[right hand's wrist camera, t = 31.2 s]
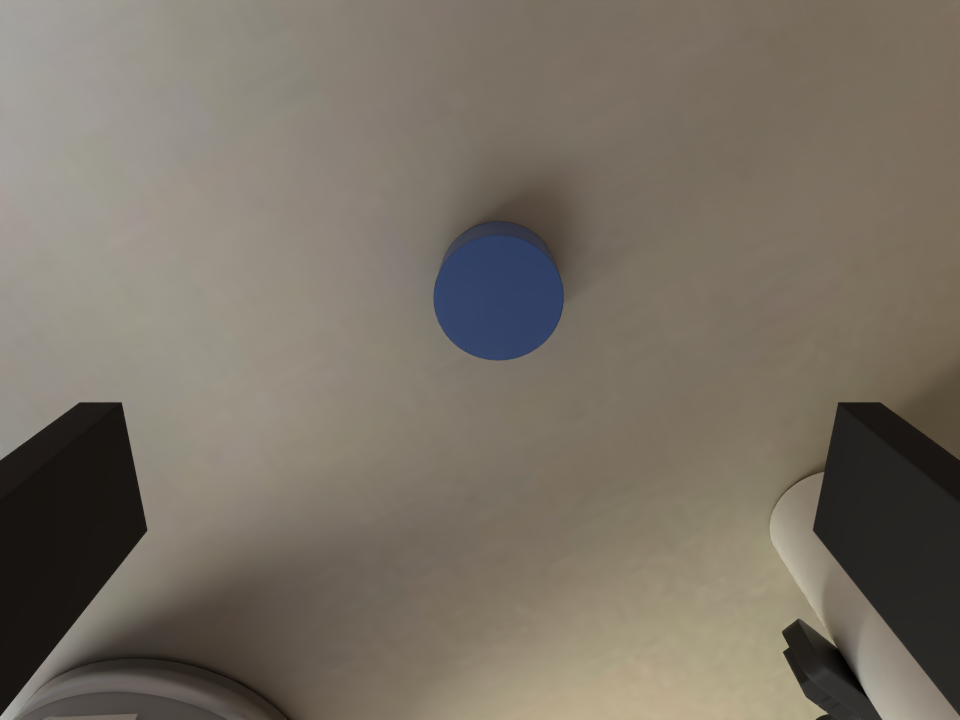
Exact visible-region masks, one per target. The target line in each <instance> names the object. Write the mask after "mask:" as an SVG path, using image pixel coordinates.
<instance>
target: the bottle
mask: <svg viewBox="0 0 960 720" xmlns="http://www.w3.org/2000/svg"><path fill="white" fill-rule="evenodd" d="M823 476H824V472H821V473H817V474H814V475H811V476H809V477H807V478H805V479H803V480H801V481H799V482H798V483H796V484H795V485H793V486H792V487H791V488H790V489H789V490H787V491H786V492H785V493H784V495H783V496H782V497H781V498H780V499H779V501H778V502H777V504H776V506H775V508H774V510H773V512H772V515H771V520H770V536H771V540H772V543H773V545H774V547H775V549H776V550H777V552H778V553H779V555H780V557H781V558H782V560H783V561H784V563H785V565H786V566H787V568H788V569H789V571H790V573H791V574H792V576H793V577H794V579H795V581H796V582H797V584H798V585H799V587H800V589H801V590H802V592H803V593H804V595H805V597H806V598H807V600H808V601H809V603H810V605H811V606H812V608H813V609H814V611H815V613H816V614H817V616H818V617H819V619H820V621H821V622H822V624H823V625H824V627H825V629H826V630H827V632H828V633H829V635H830V637H831V638H832V640H833V641H834V643H835V645H836V646H837V648H838V649H839V651H840V653H841V654H842V656H843V657H844V659H845V661H846V662H847V664H848V665H849V667H850V669H851V670H852V672H853V673H854V675H855V677H856V678H857V680H858V681H859V683H860V685H861V686H862V688H863V690H864V691H865V693H866V694H867V696H868V698H869V699H870V701H871V702H872V704H873V706H874V707H875V709H876V710H877V712H878V714H879V715H880V717H881V718H882V720H960V716H959V715H958V713H957V712H956V711H955V710H954V708H953V707H952V706H951V705H950V703H949V702H948V701H947V700H946V698H945V697H944V696H943V695H942V693H941V692H940V691H939V689H938V688H937V687H936V686H935V684H934V683H933V682H932V681H931V679H930V678H929V677H928V676H927V674H926V673H925V672H924V671H923V669H922V668H921V667H920V665H919V664H918V663H917V662H916V660H915V659H914V658H913V657H912V655H911V654H910V653H909V652H908V650H907V649H906V648H905V647H904V645H903V644H902V643H901V641H900V640H899V639H898V638H897V636H896V635H895V634H894V633H893V631H892V630H891V629H890V628H889V626H888V625H887V624H886V623H885V621H884V620H883V619H882V617H881V616H880V615H879V614H878V612H877V611H876V610H875V609H874V607H873V606H872V605H871V604H870V602H869V601H868V600H867V599H866V597H865V596H864V595H863V594H862V592H861V591H860V590H859V588H858V587H857V586H856V585H855V583H854V582H853V581H852V580H851V578H850V577H849V576H848V575H847V573H846V572H845V571H844V570H843V568H842V567H841V566H840V564H839V563H838V562H837V561H836V559H835V558H834V557H833V556H832V554H831V553H830V552H829V551H828V549H827V548H826V547H825V546H824V544H823V543H822V542H821V540H820V539H819V538H818V537H817V535H816V534H815V533H814V532H813V526H814V521H815V516H816V511H817V506H818V501H819V496H820V491H821V486H822V481H823Z"/></svg>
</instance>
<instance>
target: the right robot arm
mask: <svg viewBox="0 0 960 720" xmlns="http://www.w3.org/2000/svg"><path fill="white" fill-rule="evenodd" d="M146 532H147V526H146V521H145V516H144V511H143V506H142V501H141V496H140V491H139V486H138V481H137V476H136V471H135V466H134V461H133V456H132V451H131V446H130V441H129V437H128V432H127V427H126V422H125V417H124V412H123V407H122V402H80V403H78V404H77V405H76V406H74V407H73V408H72V409H70V410H69V411H67V412H66V413H65V414H63V415H62V416H61V417H59V418H58V419H56V420H55V421H54V422H52V423H51V424H50V425H48V426H47V427H45V428H44V429H43V430H41V431H40V432H39V433H37V434H36V435H35V436H33V437H32V438H30V439H29V440H28V441H26V442H25V443H24V444H22V445H21V446H19V447H18V448H17V449H15V450H14V451H13V452H11V453H10V454H8V455H7V456H6V457H4V458H3V459H2V460H0V716H1V715H2V713H3V712H4V711H5V710H6V708H7V707H8V706H9V705H10V703H11V702H12V701H13V700H14V698H15V697H16V696H17V695H18V693H19V692H20V691H21V689H22V688H23V687H24V686H25V684H26V683H27V682H28V681H29V679H30V678H31V677H32V676H33V674H34V673H35V672H36V671H37V669H38V668H39V667H40V665H41V664H42V663H43V662H44V660H45V659H46V658H47V657H48V655H49V654H50V653H51V652H52V650H53V649H54V648H55V647H56V645H57V644H58V643H59V641H60V640H61V639H62V638H63V636H64V635H65V634H66V633H67V631H68V630H69V629H70V628H71V626H72V625H73V624H74V623H75V621H76V620H77V619H78V617H79V616H80V615H81V614H82V612H83V611H84V610H85V609H86V607H87V606H88V605H89V604H90V602H91V601H92V600H93V599H94V597H95V596H96V595H97V594H98V592H99V591H100V590H101V588H102V587H103V586H104V585H105V583H106V582H107V581H108V580H109V578H110V577H111V576H112V575H113V573H114V572H115V571H116V570H117V568H118V567H119V566H120V564H121V563H122V562H123V561H124V559H125V558H126V557H127V556H128V554H129V553H130V552H131V551H132V549H133V548H134V547H135V546H136V544H137V543H138V542H139V540H140V539H141V538H142V537H143V535H144V534H145V533H146ZM813 532H814V533H815V534H816V535H817V537H818V538H819V539H820V540H821V542H822V543H823V544H824V546H825V547H826V548H827V549H828V551H829V552H830V553H831V554H832V556H833V557H834V558H835V559H836V561H837V562H838V563H839V564H840V566H841V567H842V568H843V570H844V571H845V572H846V573H847V575H848V576H849V577H850V578H851V580H852V581H853V582H854V583H855V585H856V586H857V587H858V588H859V590H860V591H861V592H862V594H863V595H864V596H865V597H866V599H867V600H868V601H869V602H870V604H871V605H872V606H873V607H874V609H875V610H876V611H877V612H878V614H879V615H880V616H881V617H882V619H883V620H884V621H885V623H886V624H887V625H888V626H889V628H890V629H891V630H892V631H893V633H894V634H895V635H896V636H897V638H898V639H899V640H900V641H901V643H902V644H903V645H904V647H905V648H906V649H907V650H908V652H909V653H910V654H911V655H912V657H913V658H914V659H915V660H916V662H917V663H918V664H919V665H920V667H921V668H922V669H923V671H924V672H925V673H926V674H927V676H928V677H929V678H930V679H931V681H932V682H933V683H934V684H935V686H936V687H937V688H938V689H939V691H940V692H941V693H942V695H943V696H944V697H945V698H946V700H947V701H948V702H949V703H950V705H951V706H952V707H953V708H954V710H955V711H956V712H957V713H958V715H959V716H960V460H958V459H957V458H956V457H954V456H953V455H952V454H950V453H949V452H947V451H946V450H945V449H943V448H942V447H941V446H939V445H938V444H936V443H935V442H934V441H932V440H931V439H930V438H928V437H927V436H925V435H924V434H923V433H921V432H920V431H919V430H917V429H916V428H915V427H913V426H912V425H910V424H909V423H908V422H906V421H905V420H904V419H902V418H901V417H899V416H898V415H897V414H895V413H894V412H893V411H891V410H890V409H888V408H887V407H886V406H884V405H883V404H882V403H880V402H838V407H837V412H836V417H835V422H834V427H833V432H832V437H831V441H830V446H829V451H828V456H827V461H826V466H825V471H824V476H823V481H822V486H821V491H820V496H819V501H818V506H817V511H816V516H815V521H814V526H813ZM13 720H287V719H286V718H285V716H283V715H282V714H281V713H280V712H279V711H278V710H277V709H276V708H275V707H273V706H272V705H271V704H270V703H268V702H267V701H266V700H264V699H263V698H262V697H260V696H259V695H257V694H255V693H254V692H252V691H251V690H249V689H247V688H246V687H244V686H242V685H240V684H238V683H236V682H234V681H232V680H230V679H228V678H225V677H223V676H221V675H218V674H216V673H213V672H210V671H207V670H204V669H201V668H197V667H194V666H190V665H186V664H181V663H177V662H171V661H164V660H156V659H117V660H108V661H102V662H97V663H92V664H88V665H85V666H81V667H78V668H76V669H73V670H70V671H68V672H66V673H64V674H62V675H60V676H58V677H56V678H54V679H53V680H51V681H50V682H48V683H47V684H45V685H44V686H43V687H41V688H40V689H39V690H38V691H37V692H36V693H35V694H34V695H33V696H32V697H31V698H30V699H29V700H28V701H27V703H26V704H25V705H24V707H23V708H22V709H21V710H20V712H19V713H18V714H17V716H16V717H15V718H14V719H13Z"/></svg>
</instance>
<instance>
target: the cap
mask: <svg viewBox="0 0 960 720" xmlns="http://www.w3.org/2000/svg"><path fill="white" fill-rule="evenodd" d="M563 302H564V293H563V286H562V282H561V278H560V275H559V272H558V270H557V267H556V264H555V261H554V259H553V257H552V254H551V252H550V251H549V249H548V247H547V246H546V245H545V243H544V242H543V241H542V240H541V239H540V238H539V237H538V236H537V235H536V234H534V233H533V232H532V231H530V230H528V229H526V228H525V227H522V226H520V225H517V224H514V223H509V222H488V223H483V224H480V225H477V226H475V227H473V228H471V229H469V230H467V231H466V232H464V233H463V234H461V235H460V236H459V237H458V238H457V239H456V240H455V241H454V242H453V243H452V244H451V246H450V247H449V249H448V250H447V252H446V254H445V256H444V259H443V262H442V264H441V267H440V271H439V274H438V277H437V280H436V283H435V288H434V308H435V312H436V316H437V319H438V322H439V324H440V326H441V328H442V329H443V331H444V332H445V334H446V335H447V336H448V338H449V339H450V340H451V341H452V342H453V343H454V344H455V345H457V346H458V347H459V348H461V349H462V350H464V351H465V352H467V353H469V354H471V355H473V356H476V357H479V358H483V359H488V360H509V359H514V358H518V357H521V356H523V355H526V354H528V353H530V352H532V351H533V350H535V349H536V348H538V347H539V346H540V345H542V344H543V343H544V342H545V341H546V340H547V339H548V338H549V336H550V335H551V334H552V333H553V331H554V329H555V328H556V326H557V324H558V322H559V319H560V317H561V313H562V309H563Z"/></svg>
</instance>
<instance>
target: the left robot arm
mask: <svg viewBox="0 0 960 720" xmlns="http://www.w3.org/2000/svg"><path fill="white" fill-rule="evenodd" d="M782 634H783V636H784V638H785V640H786V641H787V643H788V645H789V648H788V649H786V650H785V651H784V652H783V653H784V655H785V657H786V659H787V661H788V663H789V665H790V667H791V669H792V671H793V673H794V675H795V677H796V679H797V681H798V683H799V684H800V686H801V688H802V690H803V692H804V694H805V696H806V697H807V698H808V699H810V700H811V701H812V702H814V703H815V704H816V705H818V706H819V707H820V708H822V709H823V710H824V711H826V712H827V713H828V714H827V715H823V716H821V717H819V718H817V719H816V720H882V718H881V717H880V715H879V714H878V712H877V710H876V709H875V707H874V706H873V704H872V702H871V701H870V699H869V698H868V696H867V694H866V693H865V691H864V690H863V688H862V686H861V685H860V683H859V681H858V680H857V678H856V677H855V675H854V673H853V672H852V670H851V669H850V667H849V665H848V664H847V662H846V661H845V659H844V657H843V656H842V654H841V653H840V651H839V649H838V648H836V647H835V646H834V645H833V644H831V643H830V642H829V641H828V640H826V639H825V638H824V637H823V636H821V635H820V634H819V633H817V632H816V631H815V630H814V629H812V628H811V627H810V626H809V625H807V624H806V623H805V622H803V621H802V620H801V619H797V620H796V621H795V622H793V623H792V624H791V625H790V626H788V627H787V628H786V629H784V630H783V631H782Z"/></svg>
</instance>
